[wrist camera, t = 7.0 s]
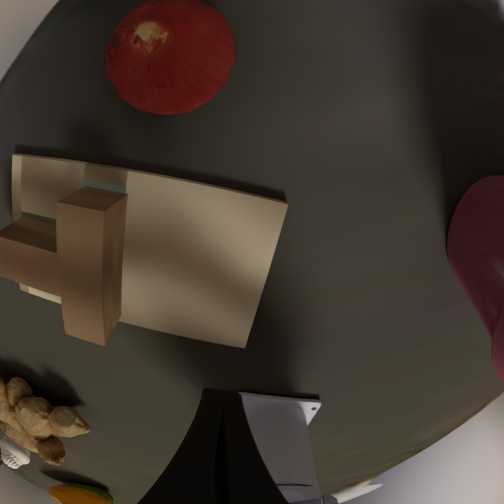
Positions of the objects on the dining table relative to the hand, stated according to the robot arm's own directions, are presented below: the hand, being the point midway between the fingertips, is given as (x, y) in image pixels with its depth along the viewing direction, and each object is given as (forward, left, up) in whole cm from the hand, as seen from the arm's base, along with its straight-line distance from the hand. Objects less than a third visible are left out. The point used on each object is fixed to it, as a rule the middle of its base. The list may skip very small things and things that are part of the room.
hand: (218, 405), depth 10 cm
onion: (+12, +5, -11) cm, 17 cm away
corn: (-57, +20, -11) cm, 61 cm away
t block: (0, +11, -10) cm, 15 cm away
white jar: (-41, +29, -11) cm, 51 cm away
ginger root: (-25, +20, -11) cm, 34 cm away
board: (0, +7, -10) cm, 13 cm away
